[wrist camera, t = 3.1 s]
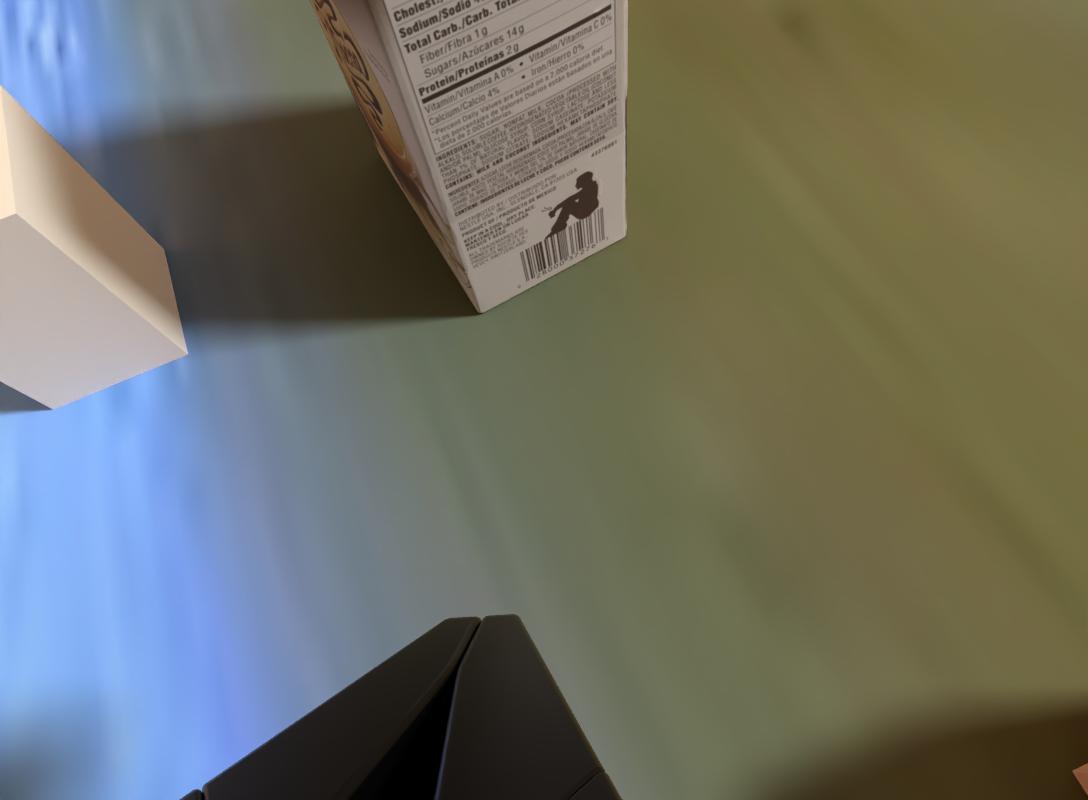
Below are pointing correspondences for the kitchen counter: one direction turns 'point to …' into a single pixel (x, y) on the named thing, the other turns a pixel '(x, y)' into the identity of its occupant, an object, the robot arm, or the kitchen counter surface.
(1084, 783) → the terracotta block
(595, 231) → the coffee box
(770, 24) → the kitchen counter surface
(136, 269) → the cream block
